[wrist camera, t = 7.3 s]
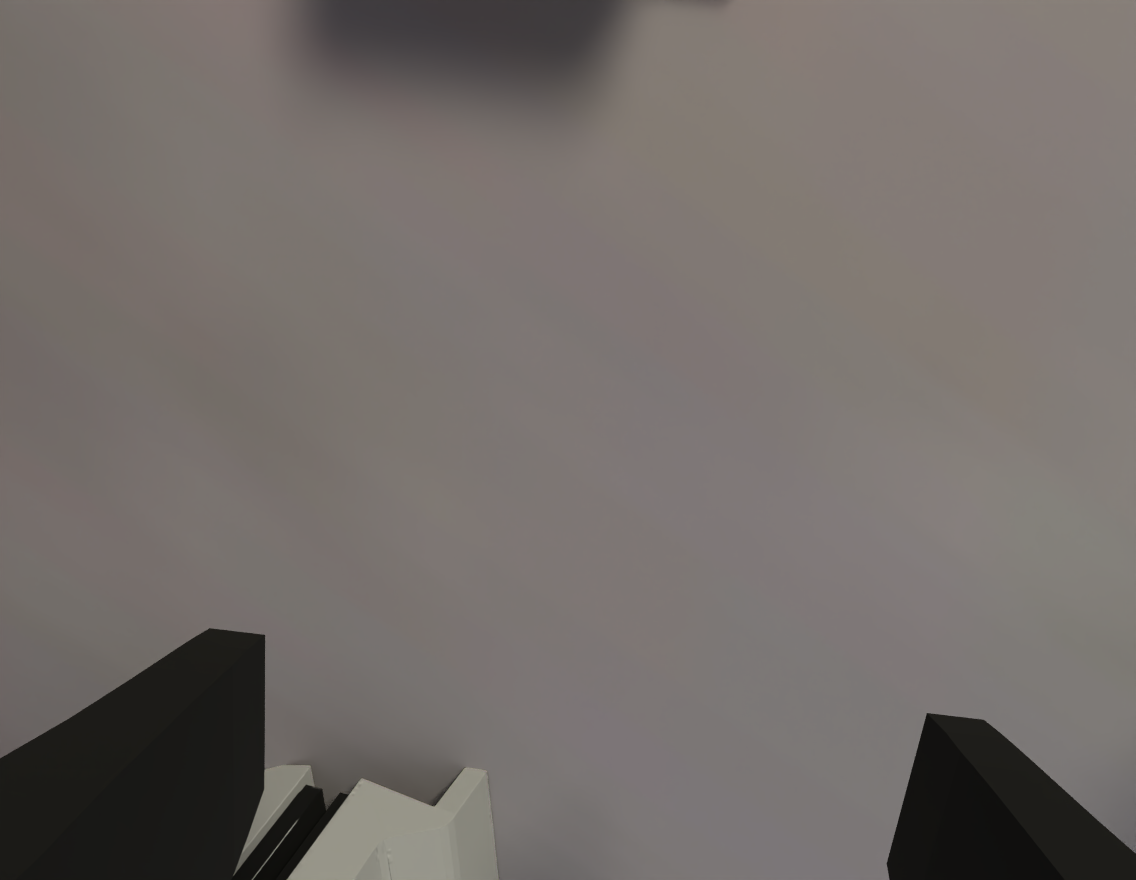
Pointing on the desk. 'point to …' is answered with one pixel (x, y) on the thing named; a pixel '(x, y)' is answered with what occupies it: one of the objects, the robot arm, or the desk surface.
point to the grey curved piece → (369, 832)
